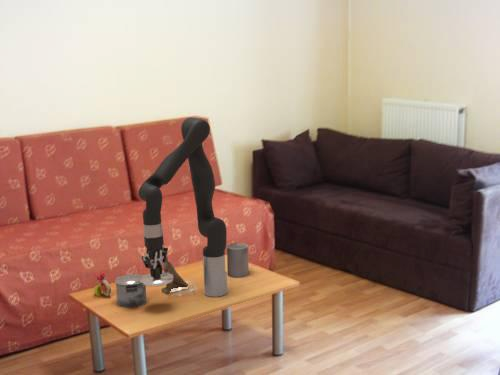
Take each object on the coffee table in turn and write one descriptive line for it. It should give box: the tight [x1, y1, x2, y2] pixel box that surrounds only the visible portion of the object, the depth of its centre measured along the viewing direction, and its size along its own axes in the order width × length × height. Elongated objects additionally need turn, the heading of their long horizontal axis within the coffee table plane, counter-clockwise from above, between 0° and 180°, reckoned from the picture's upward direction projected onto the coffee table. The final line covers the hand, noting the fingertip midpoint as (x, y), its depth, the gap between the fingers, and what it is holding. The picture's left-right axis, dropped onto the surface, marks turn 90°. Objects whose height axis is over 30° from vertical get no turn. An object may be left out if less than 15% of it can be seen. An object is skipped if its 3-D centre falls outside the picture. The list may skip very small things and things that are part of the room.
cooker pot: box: [114, 273, 148, 308], centre depth 293 cm, size 18×13×10 cm
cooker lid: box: [141, 266, 173, 287], centre depth 283 cm, size 13×13×6 cm
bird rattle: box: [93, 270, 112, 298], centre depth 301 cm, size 6×11×9 cm
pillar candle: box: [226, 242, 250, 279], centre depth 322 cm, size 10×10×15 cm
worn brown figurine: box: [161, 256, 189, 295], centre depth 304 cm, size 12×6×18 cm, turn 122°
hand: (156, 275), depth 284 cm, fingers closed on cooker lid, 3 cm apart
